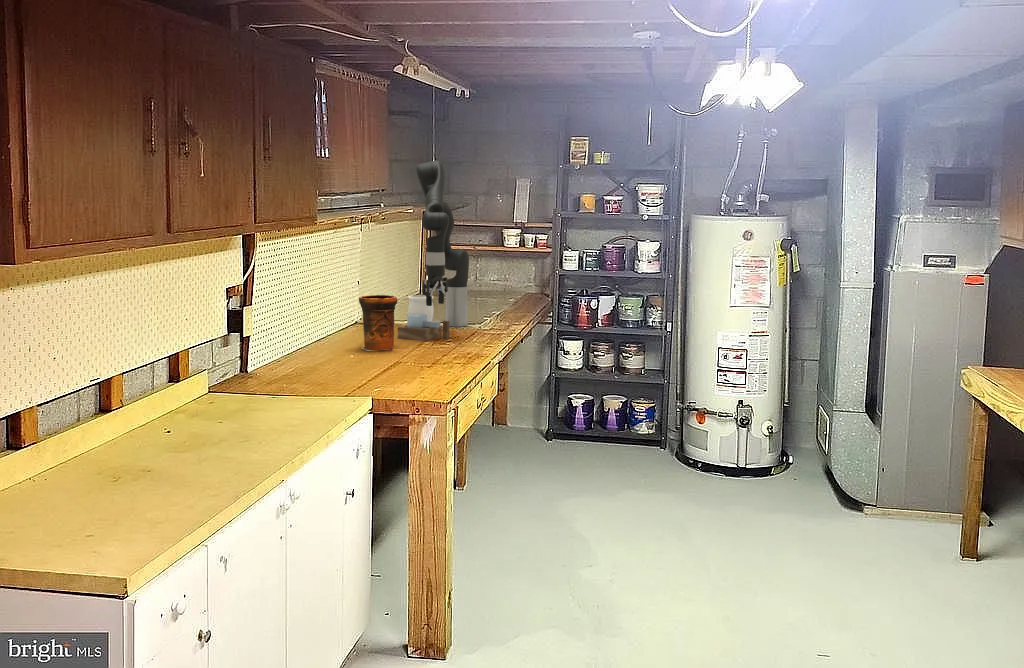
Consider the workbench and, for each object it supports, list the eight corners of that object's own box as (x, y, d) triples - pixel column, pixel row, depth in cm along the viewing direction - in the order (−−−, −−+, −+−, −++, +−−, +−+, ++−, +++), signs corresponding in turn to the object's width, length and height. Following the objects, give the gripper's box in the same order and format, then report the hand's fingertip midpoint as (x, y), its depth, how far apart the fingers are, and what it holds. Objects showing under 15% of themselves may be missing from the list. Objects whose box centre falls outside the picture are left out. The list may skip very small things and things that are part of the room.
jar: (435, 330, 420) (435, 295, 418) (431, 333, 410) (431, 298, 408) (411, 329, 421) (410, 294, 419) (406, 333, 411) (405, 297, 409)
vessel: (365, 352, 364) (365, 298, 361) (354, 347, 377) (354, 295, 374) (403, 350, 370) (402, 297, 368) (391, 345, 383) (390, 294, 380)
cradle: (415, 335, 405) (415, 316, 404) (454, 339, 396) (454, 320, 395) (396, 340, 393) (395, 320, 392) (435, 344, 384) (435, 324, 383)
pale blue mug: (403, 337, 395) (402, 315, 393) (416, 335, 401) (416, 313, 400) (432, 341, 386) (432, 318, 385) (445, 339, 393) (445, 316, 391)
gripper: (437, 262, 396) (437, 302, 398) (417, 264, 383) (416, 305, 386) (453, 263, 392) (453, 303, 394) (433, 265, 380) (433, 307, 382)
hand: (435, 304), depth 390 cm, fingers open, 8 cm apart
